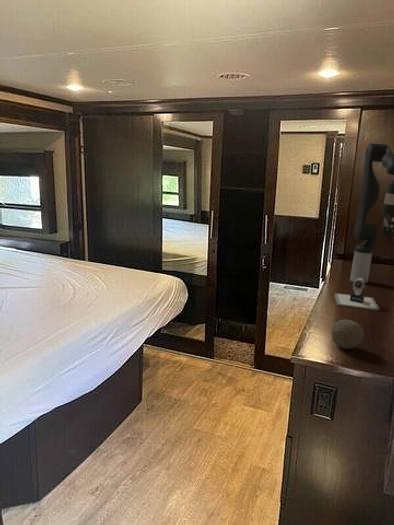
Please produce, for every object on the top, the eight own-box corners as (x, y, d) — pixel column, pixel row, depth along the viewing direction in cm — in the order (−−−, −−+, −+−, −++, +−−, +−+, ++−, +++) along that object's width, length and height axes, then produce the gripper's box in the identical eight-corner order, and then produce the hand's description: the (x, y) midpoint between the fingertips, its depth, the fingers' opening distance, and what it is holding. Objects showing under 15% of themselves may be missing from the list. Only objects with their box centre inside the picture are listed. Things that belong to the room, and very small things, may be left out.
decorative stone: (329, 349, 135) (333, 322, 132) (330, 340, 142) (334, 314, 140) (361, 356, 131) (366, 328, 129) (360, 346, 139) (365, 319, 137)
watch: (348, 301, 185) (352, 279, 183) (352, 297, 192) (355, 275, 189) (361, 304, 182) (365, 281, 180) (364, 300, 189) (368, 278, 187)
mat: (334, 294, 198) (334, 292, 198) (372, 298, 194) (372, 297, 194) (337, 305, 181) (338, 304, 181) (379, 310, 177) (380, 309, 177)
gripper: (404, 205, 178) (397, 240, 183) (397, 202, 192) (391, 235, 196) (386, 204, 180) (380, 239, 184) (381, 201, 194) (375, 233, 198)
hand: (386, 237), depth 190 cm, fingers open, 8 cm apart
